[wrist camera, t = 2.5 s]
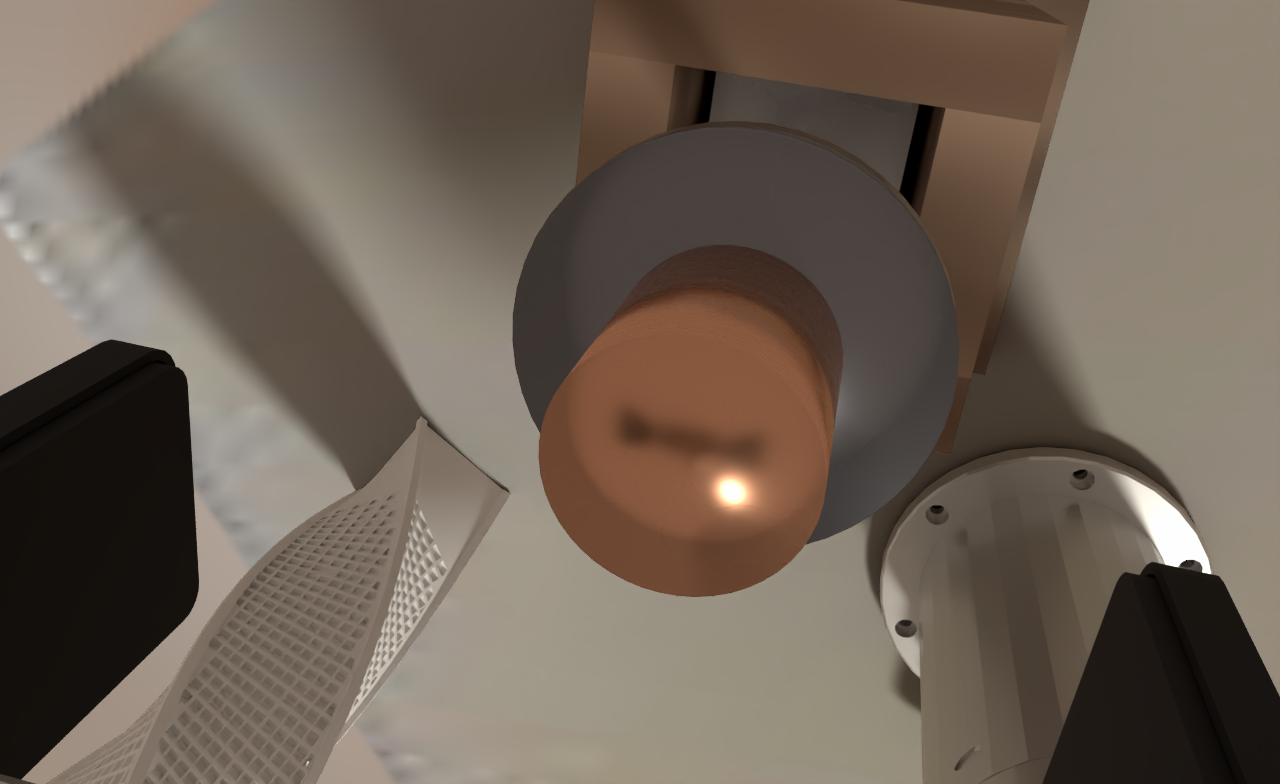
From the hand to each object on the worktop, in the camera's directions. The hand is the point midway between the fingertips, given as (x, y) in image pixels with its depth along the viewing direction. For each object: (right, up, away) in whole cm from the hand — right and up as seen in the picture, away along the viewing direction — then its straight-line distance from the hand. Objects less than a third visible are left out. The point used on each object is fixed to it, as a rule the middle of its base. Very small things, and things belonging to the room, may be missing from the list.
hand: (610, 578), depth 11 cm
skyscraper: (-9, -2, +38) cm, 40 cm away
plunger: (+5, +8, +19) cm, 21 cm away
